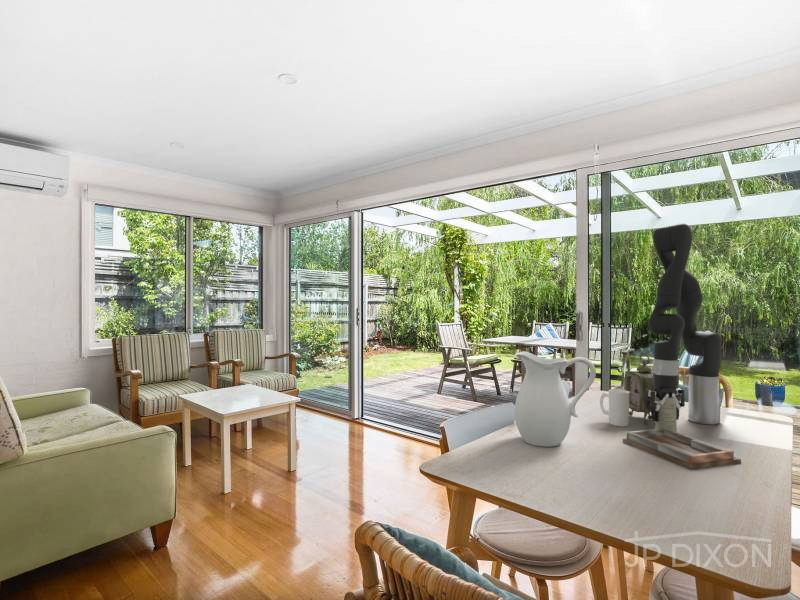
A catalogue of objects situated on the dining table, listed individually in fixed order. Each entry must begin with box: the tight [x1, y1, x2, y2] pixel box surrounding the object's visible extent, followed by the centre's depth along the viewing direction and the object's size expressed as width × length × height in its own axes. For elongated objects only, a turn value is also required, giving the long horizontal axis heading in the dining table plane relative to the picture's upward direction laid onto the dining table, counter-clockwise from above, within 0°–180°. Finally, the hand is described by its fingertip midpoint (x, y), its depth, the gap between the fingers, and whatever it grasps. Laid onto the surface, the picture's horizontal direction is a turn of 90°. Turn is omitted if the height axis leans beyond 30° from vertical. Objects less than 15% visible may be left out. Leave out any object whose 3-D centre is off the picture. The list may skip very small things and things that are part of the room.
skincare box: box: [654, 397, 678, 433], centre depth 154 cm, size 6×4×12 cm
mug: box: [599, 388, 630, 427], centre depth 165 cm, size 10×7×12 cm, turn 46°
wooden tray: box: [622, 428, 742, 470], centre depth 135 cm, size 18×24×3 cm
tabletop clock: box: [623, 352, 655, 424], centre depth 170 cm, size 14×9×25 cm, turn 178°
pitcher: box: [514, 351, 597, 448], centre depth 142 cm, size 24×17×28 cm
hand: (665, 420), depth 154 cm, fingers open, 8 cm apart
